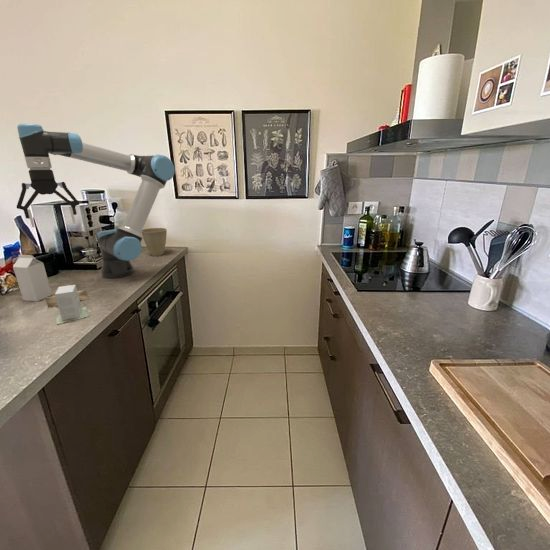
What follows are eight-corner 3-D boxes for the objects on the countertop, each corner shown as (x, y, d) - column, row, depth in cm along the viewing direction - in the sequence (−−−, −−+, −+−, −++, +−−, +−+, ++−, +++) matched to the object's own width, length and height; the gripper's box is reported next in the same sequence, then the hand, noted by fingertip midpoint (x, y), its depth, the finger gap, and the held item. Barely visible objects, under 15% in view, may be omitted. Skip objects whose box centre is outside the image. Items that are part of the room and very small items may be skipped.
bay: (88, 298, 128) (86, 289, 127) (95, 315, 113) (93, 305, 112) (48, 307, 120) (45, 297, 119) (50, 326, 105) (47, 316, 104)
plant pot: (161, 258, 184) (157, 232, 179) (139, 257, 188) (135, 231, 182) (174, 252, 198) (171, 228, 193) (154, 250, 201) (150, 227, 196)
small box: (65, 312, 115) (58, 286, 112) (82, 309, 117) (75, 284, 114) (61, 321, 108) (54, 294, 105) (79, 317, 111) (72, 291, 107)
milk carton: (37, 301, 125) (24, 258, 119) (23, 300, 126) (9, 257, 120) (52, 295, 132) (40, 253, 125) (39, 294, 133) (26, 252, 127)
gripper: (-4, 169, 105) (14, 229, 112) (79, 168, 119) (91, 222, 126) (-2, 169, 110) (15, 227, 117) (77, 168, 124) (88, 220, 132)
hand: (54, 224), depth 122 cm, fingers open, 13 cm apart
